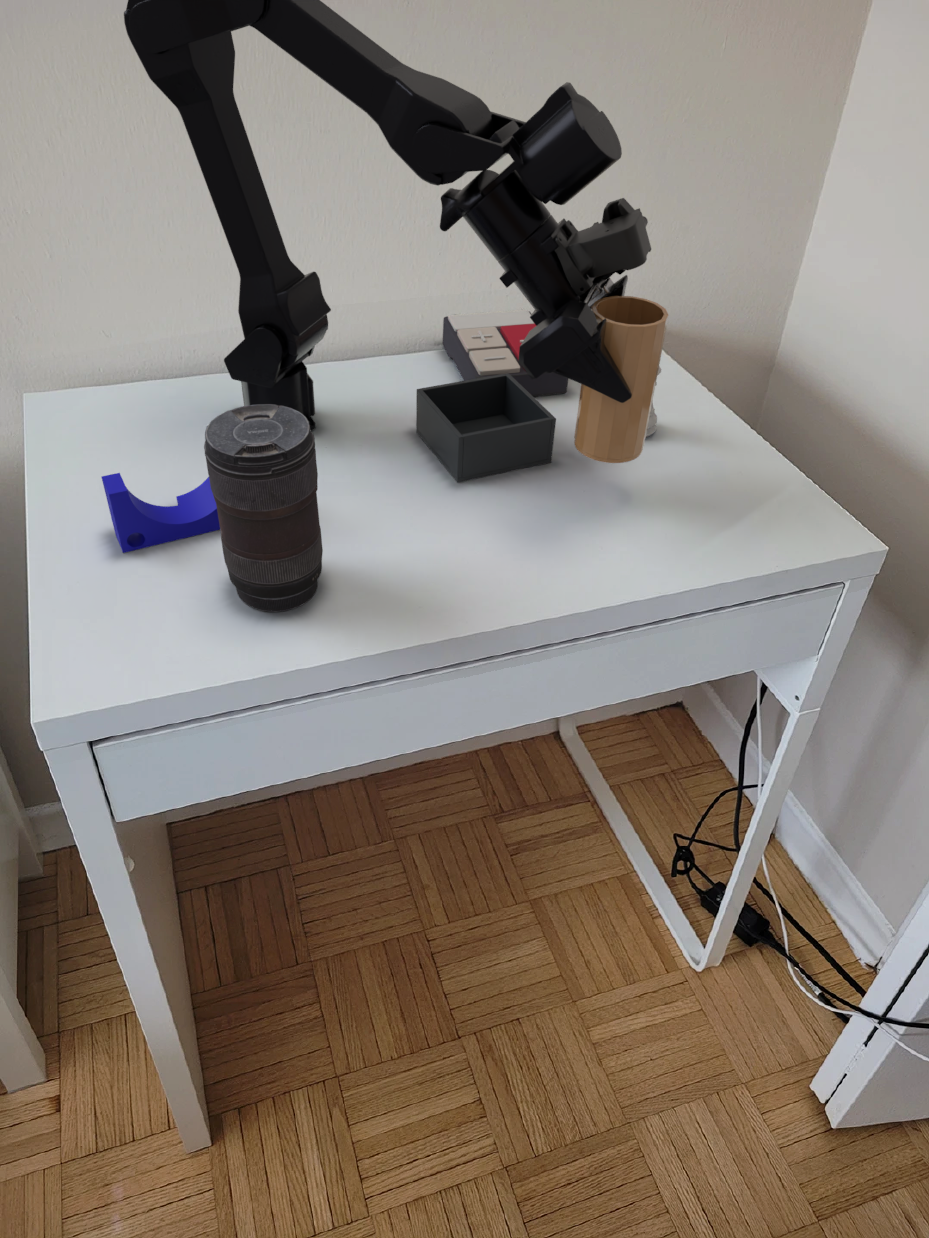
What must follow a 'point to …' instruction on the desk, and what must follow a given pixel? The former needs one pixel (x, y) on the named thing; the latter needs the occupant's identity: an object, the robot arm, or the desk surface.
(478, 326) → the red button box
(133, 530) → the blue semicircular cradle bracket
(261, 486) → the camera lens
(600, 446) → the wooden cup
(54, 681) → the desk surface
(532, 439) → the bin
